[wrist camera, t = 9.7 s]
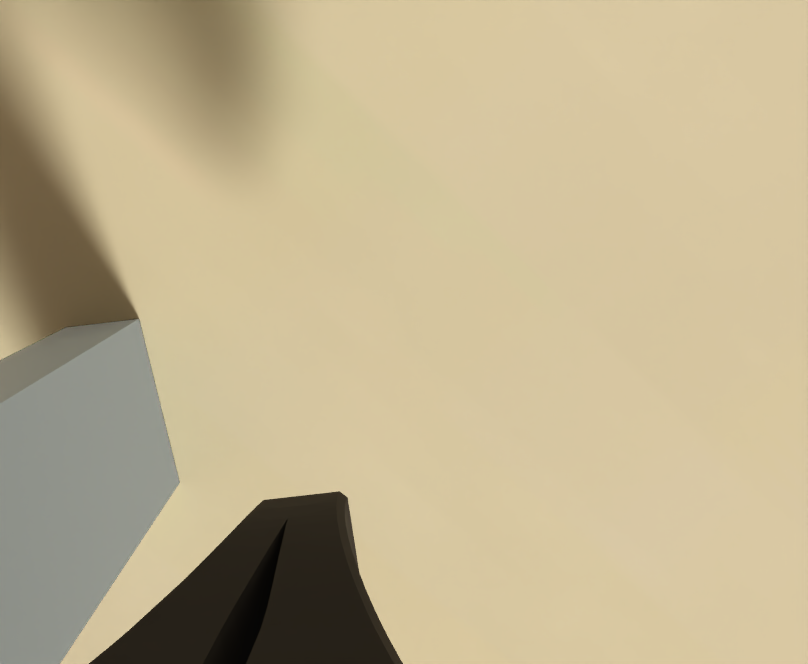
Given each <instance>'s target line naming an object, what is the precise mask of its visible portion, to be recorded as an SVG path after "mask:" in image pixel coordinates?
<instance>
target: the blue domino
mask: <svg viewBox="0 0 808 664" xmlns="http://www.w3.org/2000/svg"><path fill="white" fill-rule="evenodd" d="M179 483H180V482H179V478H178V474H177V470H176V466H175V462H174V458H173V454H172V450H171V446H170V442H169V438H168V434H167V430H166V426H165V422H164V418H163V414H162V410H161V406H160V401H159V397H158V393H157V389H156V385H155V381H154V377H153V373H152V369H151V365H150V361H149V357H148V353H147V349H146V345H145V341H144V337H143V333H142V329H141V325H140V321H139V319H133V320H125V321H116V322H108V323H99V324H91V325H82V326H74V327H66V328H64V329H62V330H60V331H58V332H56V333H54V334H52V335H50V336H48V337H46V338H44V339H42V340H40V341H38V342H36V343H34V344H32V345H30V346H28V347H26V348H24V349H22V350H20V351H18V352H16V353H14V354H12V355H10V356H8V357H6V358H4V359H2V360H0V664H60V663H61V661H62V660H63V658H64V657H65V655H66V654H67V652H68V651H69V649H70V648H71V646H72V645H73V643H74V642H75V640H76V639H77V637H78V636H79V634H80V633H81V631H82V630H83V628H84V627H85V625H86V624H87V622H88V621H89V619H90V617H91V616H92V614H93V613H94V611H95V610H96V608H97V607H98V605H99V604H100V602H101V601H102V599H103V598H104V596H105V595H106V593H107V592H108V590H109V589H110V587H111V586H112V584H113V583H114V581H115V580H116V578H117V577H118V575H119V574H120V572H121V571H122V569H123V568H124V566H125V565H126V563H127V562H128V560H129V558H130V557H131V555H132V554H133V552H134V551H135V549H136V548H137V546H138V545H139V543H140V542H141V540H142V539H143V537H144V536H145V534H146V533H147V531H148V530H149V528H150V527H151V525H152V524H153V522H154V521H155V519H156V518H157V516H158V515H159V513H160V512H161V510H162V509H163V507H164V506H165V504H166V503H167V501H168V499H169V498H170V496H171V495H172V493H173V492H174V490H175V489H176V487H177V486H178V484H179Z"/></svg>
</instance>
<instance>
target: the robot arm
mask: <svg viewBox="0 0 808 664" xmlns="http://www.w3.org/2000/svg"><path fill="white" fill-rule="evenodd" d="M89 664H403V663H402V662H401V660H400V658H399V656H398V654H397V653H396V651H395V649H394V647H393V645H392V643H391V642H390V640H389V638H388V636H387V634H386V632H385V630H384V628H383V626H382V624H381V622H380V620H379V618H378V616H377V614H376V612H375V610H374V607H373V605H372V603H371V601H370V598H369V596H368V594H367V591H366V589H365V587H364V584H363V581H362V579H361V576H360V574H359V569H358V562H357V556H356V549H355V543H354V537H353V530H352V524H351V517H350V511H349V505H348V498H347V497H346V496H345V495H343V494H342V493H341V492H331V493H322V494H314V495H305V496H296V497H287V498H278V499H270V500H263V501H262V502H261V503H260V504H259V505H258V506H257V507H256V508H255V509H254V510H253V511H252V512H251V513H250V514H249V515H248V516H247V517H246V518H245V519H244V520H243V521H242V522H241V523H240V524H239V525H238V526H237V527H236V528H235V529H234V530H233V531H232V532H231V533H230V534H229V535H228V536H227V537H226V538H225V539H224V540H223V541H222V542H221V543H220V544H219V545H218V546H217V547H216V548H215V549H214V550H213V552H212V553H211V554H210V555H209V556H208V557H207V558H206V559H205V560H204V561H203V562H202V563H201V564H200V565H199V566H198V567H197V568H196V569H195V570H194V571H193V572H192V573H191V574H190V575H189V576H188V577H187V578H185V579H184V580H183V581H182V582H181V583H180V584H179V585H178V586H177V587H176V588H175V589H174V590H173V591H171V592H170V593H169V594H168V595H167V596H166V597H165V598H164V599H163V600H162V601H161V602H159V603H158V604H157V605H156V606H155V607H154V608H153V609H152V610H151V611H150V612H149V613H147V614H146V615H145V616H144V617H143V618H142V619H141V620H140V621H139V622H138V623H137V624H135V625H134V626H133V627H132V628H131V629H130V630H129V631H128V632H127V633H125V634H124V635H123V636H122V637H121V638H119V639H118V640H117V641H116V642H115V643H114V644H112V645H111V646H110V647H109V648H108V649H106V650H105V651H104V652H103V653H101V654H100V655H99V656H98V657H97V658H95V659H94V660H93V661H92V662H90V663H89Z"/></svg>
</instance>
